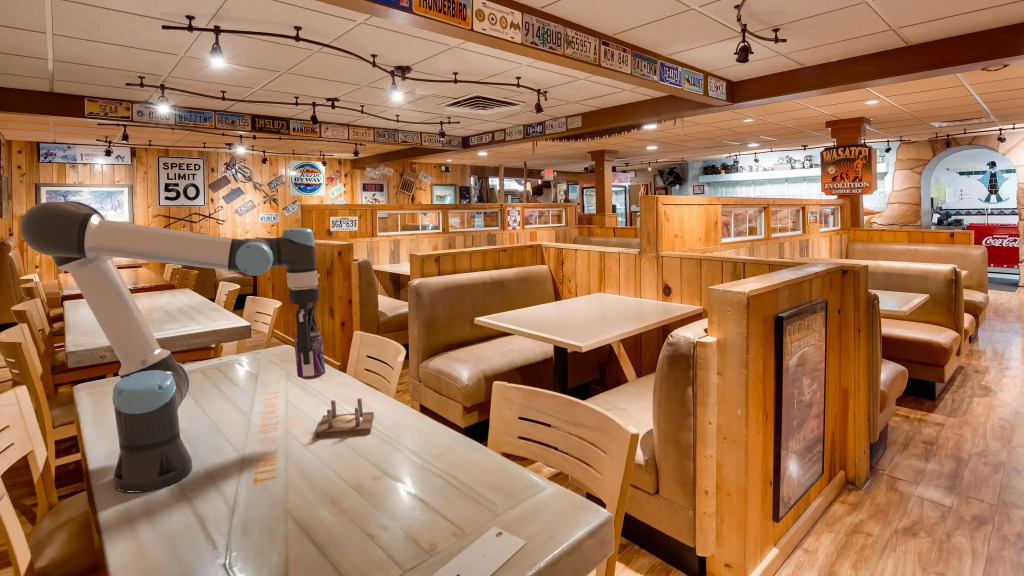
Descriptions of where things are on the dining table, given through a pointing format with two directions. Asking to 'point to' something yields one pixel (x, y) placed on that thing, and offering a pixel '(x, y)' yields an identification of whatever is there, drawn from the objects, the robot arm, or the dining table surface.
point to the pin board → (345, 422)
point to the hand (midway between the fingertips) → (311, 370)
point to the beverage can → (317, 356)
